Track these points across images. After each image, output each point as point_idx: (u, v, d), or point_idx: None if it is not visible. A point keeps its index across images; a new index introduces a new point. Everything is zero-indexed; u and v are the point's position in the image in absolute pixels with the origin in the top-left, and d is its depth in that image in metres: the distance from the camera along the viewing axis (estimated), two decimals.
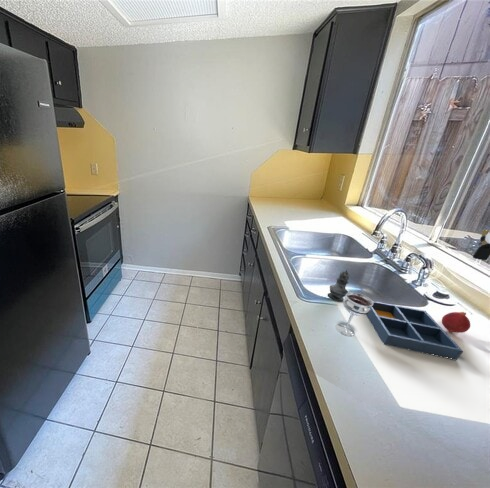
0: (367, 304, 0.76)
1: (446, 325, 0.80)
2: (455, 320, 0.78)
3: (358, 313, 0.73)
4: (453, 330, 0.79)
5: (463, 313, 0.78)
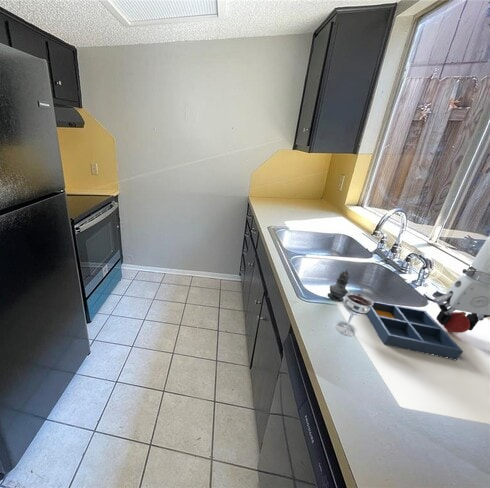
0: (367, 304, 0.76)
1: (446, 325, 0.80)
2: (455, 320, 0.78)
3: (358, 313, 0.73)
4: (453, 330, 0.79)
5: (463, 313, 0.78)
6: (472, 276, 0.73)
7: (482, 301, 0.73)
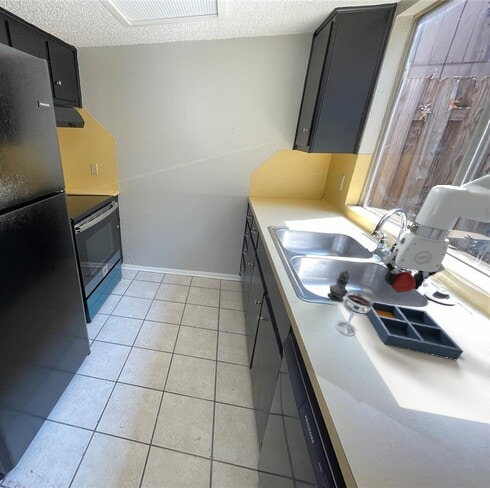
0: (367, 304, 0.76)
1: (393, 285, 0.79)
2: (401, 279, 0.77)
3: (358, 313, 0.73)
4: (399, 289, 0.78)
5: (409, 271, 0.76)
6: (415, 231, 0.72)
7: (425, 257, 0.72)
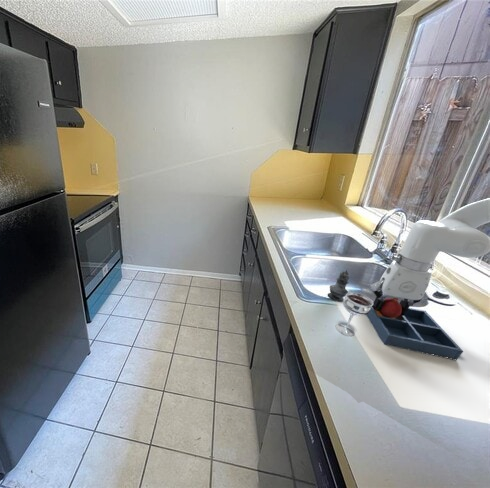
0: (367, 304, 0.76)
1: (380, 311, 0.83)
2: (388, 306, 0.81)
3: (358, 313, 0.73)
4: (386, 315, 0.82)
5: (395, 298, 0.81)
6: (399, 262, 0.76)
7: (409, 286, 0.76)
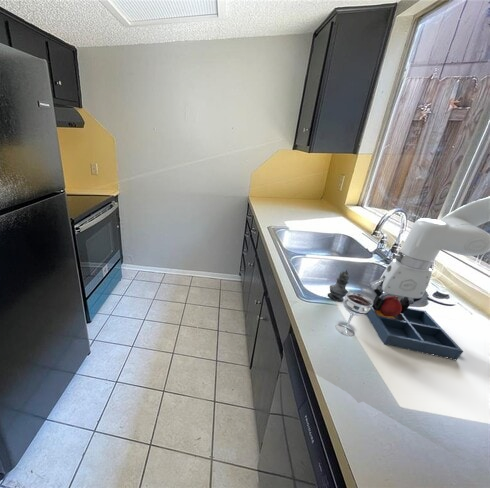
0: (367, 304, 0.76)
1: (380, 309, 0.83)
2: (388, 304, 0.81)
3: (358, 313, 0.73)
4: (386, 314, 0.82)
5: (395, 297, 0.81)
6: (400, 260, 0.76)
7: (410, 285, 0.76)
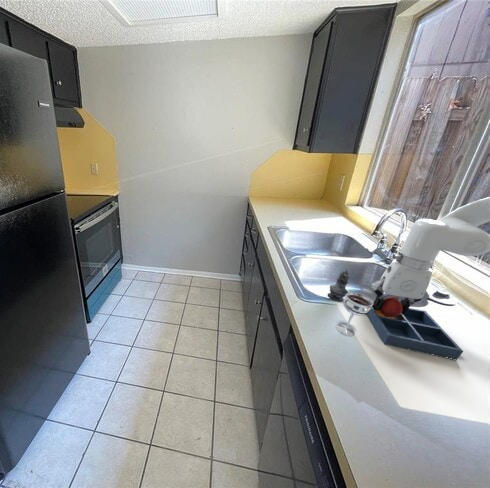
0: (367, 304, 0.76)
1: (381, 310, 0.83)
2: (389, 305, 0.81)
3: (358, 313, 0.73)
4: (387, 314, 0.82)
5: (396, 297, 0.81)
6: (400, 261, 0.76)
7: (410, 285, 0.76)
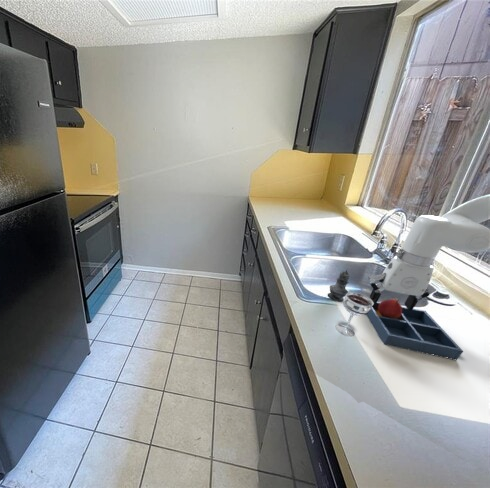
0: (367, 304, 0.76)
1: (381, 311, 0.83)
2: (389, 307, 0.81)
3: (358, 313, 0.73)
4: (387, 316, 0.82)
5: (396, 299, 0.81)
6: (401, 257, 0.75)
7: (411, 282, 0.76)
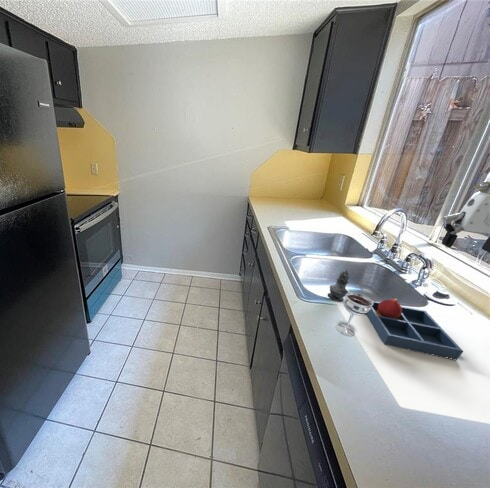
0: (367, 304, 0.76)
1: (380, 312, 0.83)
2: (388, 307, 0.81)
3: (358, 313, 0.73)
4: (386, 316, 0.82)
5: (395, 299, 0.81)
6: (487, 191, 0.68)
7: None
